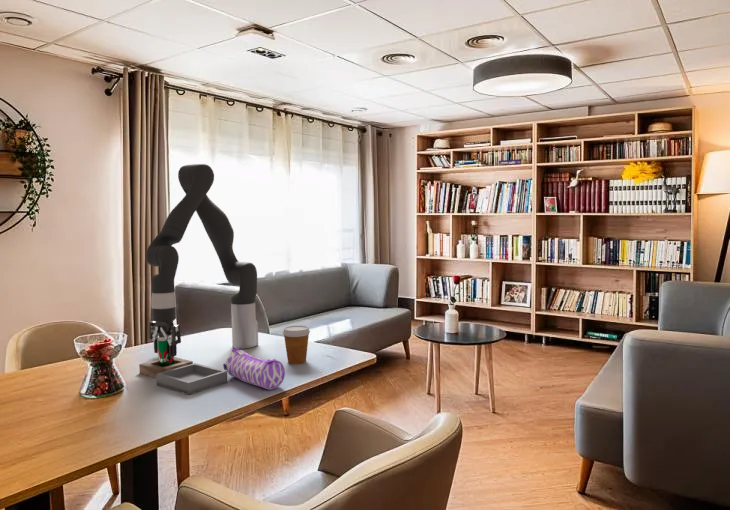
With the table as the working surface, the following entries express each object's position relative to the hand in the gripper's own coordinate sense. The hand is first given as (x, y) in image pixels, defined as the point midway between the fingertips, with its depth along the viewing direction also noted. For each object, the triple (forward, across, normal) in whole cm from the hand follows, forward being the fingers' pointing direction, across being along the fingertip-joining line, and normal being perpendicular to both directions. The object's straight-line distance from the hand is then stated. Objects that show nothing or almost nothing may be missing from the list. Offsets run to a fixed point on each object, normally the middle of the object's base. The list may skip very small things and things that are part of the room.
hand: (165, 354), depth 177 cm
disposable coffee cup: (+6, -28, -33) cm, 44 cm away
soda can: (+6, 0, 0) cm, 6 cm away
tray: (+6, -18, +3) cm, 19 cm away
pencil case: (+6, -33, -9) cm, 35 cm away
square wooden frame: (+6, 0, 0) cm, 6 cm away
